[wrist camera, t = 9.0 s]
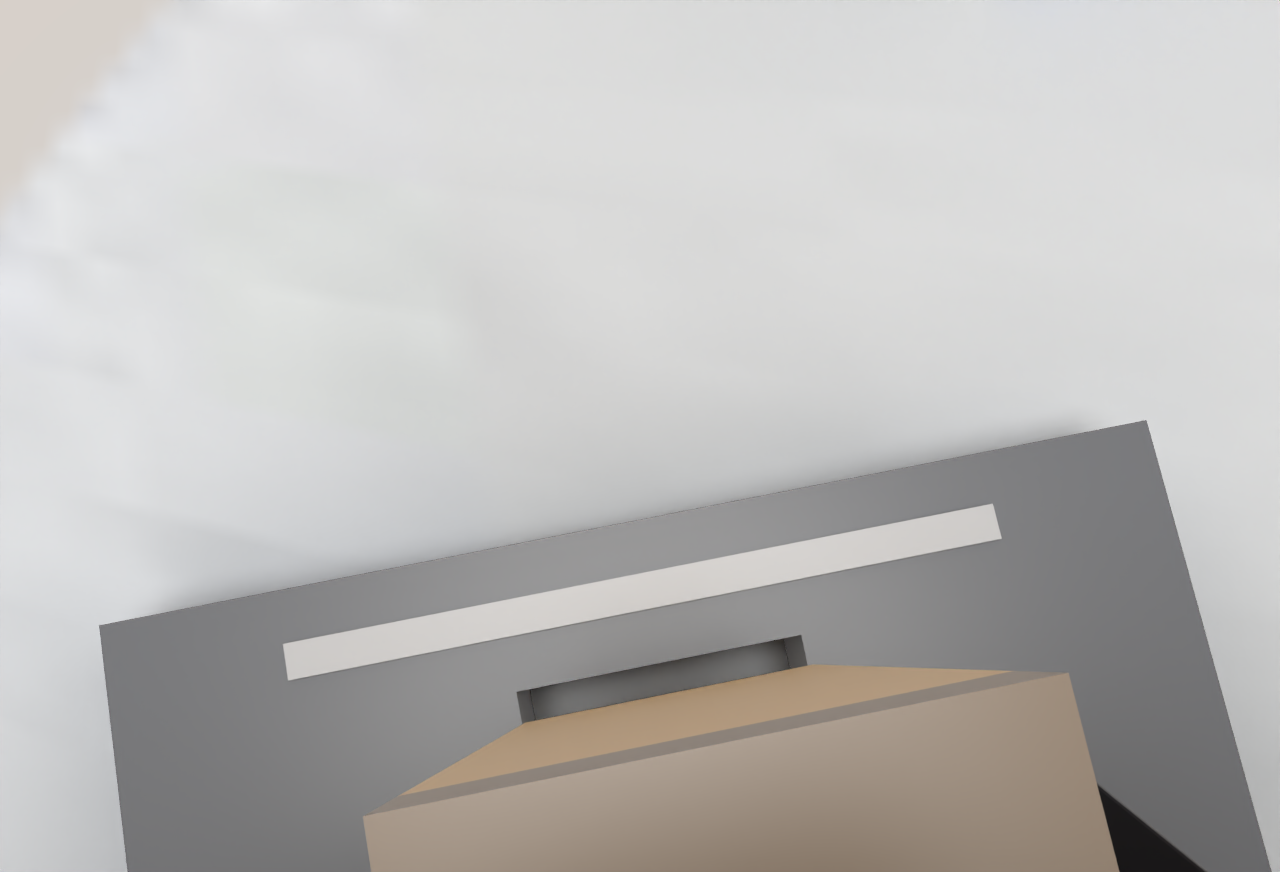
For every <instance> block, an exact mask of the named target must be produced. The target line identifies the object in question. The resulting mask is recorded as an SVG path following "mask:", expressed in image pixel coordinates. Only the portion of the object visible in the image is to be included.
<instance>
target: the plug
mask: <svg viewBox="0 0 1280 872" xmlns="http://www.w3.org/2000/svg"><path fill="white" fill-rule="evenodd" d="M363 820H364V827H365V834H366V840H367V847H368V854H369V860H370V867H371V872H1119V868H1118V864H1117V860H1116V856H1115V853H1114V849H1113V845H1112V841H1111V837H1110V833H1109V829H1108V825H1107V821H1106V817H1105V813H1104V810H1103V806H1102V802H1101V798H1100V794H1099V790H1098V786H1097V782H1096V778H1095V774H1094V770H1093V767H1092V763H1091V759H1090V755H1089V751H1088V747H1087V743H1086V739H1085V735H1084V731H1083V727H1082V724H1081V720H1080V716H1079V712H1078V708H1077V704H1076V700H1075V696H1074V692H1073V688H1072V684H1071V680H1070V677H1069V673H1063V672H1032V671H1000V670H969V669H938V668H907V667H876V666H844V665H808V666H803V667H798V668H793V669H788V670H783V671H778V672H773V673H768V674H763V675H759V676H754V677H749V678H744V679H739V680H734V681H729V682H724V683H719V684H714V685H709V686H704V687H699V688H694V689H689V690H684V691H679V692H674V693H669V694H664V695H659V696H654V697H649V698H644V699H640V700H635V701H630V702H625V703H620V704H615V705H610V706H605V707H600V708H595V709H590V710H585V711H580V712H575V713H570V714H565V715H560V716H555V717H550V718H545V719H540V720H535V721H530V722H526V723H524V724H522V725H520V726H519V727H517V728H515V729H513V730H512V731H510V732H508V733H507V734H505V735H503V736H501V737H500V738H498V739H496V740H494V741H493V742H491V743H489V744H487V745H486V746H484V747H482V748H481V749H479V750H477V751H475V752H474V753H472V754H470V755H468V756H467V757H465V758H463V759H461V760H460V761H458V762H456V763H455V764H453V765H451V766H449V767H448V768H446V769H444V770H442V771H441V772H439V773H437V774H435V775H434V776H432V777H430V778H429V779H427V780H425V781H423V782H422V783H420V784H418V785H416V786H415V787H413V788H411V789H409V790H408V791H406V792H404V793H403V794H401V795H399V796H397V797H396V798H394V799H392V800H390V801H389V802H387V803H385V804H383V805H382V806H380V807H378V808H377V809H375V810H373V811H371V812H370V813H368V814H366V815H364V816H363Z"/></svg>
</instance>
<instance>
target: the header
mask: <svg viewBox="0 0 1280 872" xmlns="http://www.w3.org/2000/svg"><path fill="white" fill-rule="evenodd" d="M99 628H100V636H101V645H102V654H103V662H104V671H105V679H106V688H107V697H108V705H109V714H110V723H111V731H112V740H113V749H114V757H115V766H116V774H117V783H118V792H119V800H120V809H121V818H122V826H123V835H124V844H125V852H126V861H127V869H128V872H371V867H370V860H369V854H368V847H367V840H366V834H365V827H364V820H363V816H364V815H366V814H368V813H370V812H371V811H373V810H375V809H377V808H378V807H380V806H382V805H383V804H385V803H387V802H389V801H390V800H392V799H394V798H396V797H397V796H399V795H401V794H403V793H404V792H406V791H408V790H409V789H411V788H413V787H415V786H416V785H418V784H420V783H422V782H423V781H425V780H427V779H429V778H430V777H432V776H434V775H435V774H437V773H439V772H441V771H442V770H444V769H446V768H448V767H449V766H451V765H453V764H455V763H456V762H458V761H460V760H461V759H463V758H465V757H467V756H468V755H470V754H472V753H474V752H475V751H477V750H479V749H481V748H482V747H484V746H486V745H487V744H489V743H491V742H493V741H494V740H496V739H498V738H500V737H501V736H503V735H505V734H507V733H508V732H510V731H512V730H513V729H515V728H517V727H519V726H520V725H522V724H524V723H526V722H530V721H535V716H534V711H533V705H532V700H531V694H530V689H533V688H538V687H543V686H548V685H553V684H558V683H563V682H568V681H573V680H578V679H583V678H588V677H593V676H598V675H603V674H608V673H613V672H618V671H623V670H628V669H633V668H638V667H643V666H648V665H653V664H658V663H663V662H668V661H673V660H678V659H683V658H688V657H693V656H698V655H703V654H708V653H713V652H718V651H723V650H728V649H733V648H738V647H743V646H748V645H753V644H757V643H762V642H767V641H772V640H777V639H782V638H783V639H784V643H785V648H786V652H787V657H788V662H789V666H790V669H793V668H798V667H803V666H808V665H844V666H876V667H907V668H938V669H969V670H1000V671H1032V672H1063V673H1069V677H1070V680H1071V684H1072V688H1073V692H1074V696H1075V700H1076V704H1077V708H1078V712H1079V716H1080V720H1081V724H1082V727H1083V731H1084V735H1085V739H1086V743H1087V747H1088V751H1089V755H1090V759H1091V763H1092V767H1093V770H1094V774H1095V778H1096V782H1097V783H1098V784H1100V785H1101V786H1102V787H1103V788H1105V789H1106V790H1107V791H1108V792H1110V793H1111V794H1112V795H1113V796H1115V797H1116V798H1117V799H1118V800H1120V801H1121V802H1122V803H1123V804H1125V805H1126V806H1127V807H1128V808H1130V809H1131V810H1132V811H1133V812H1135V813H1136V814H1137V815H1138V816H1140V817H1141V818H1142V819H1143V820H1145V821H1146V822H1147V823H1148V824H1150V825H1151V826H1152V827H1153V828H1155V829H1156V830H1157V831H1158V832H1160V833H1161V834H1162V835H1163V836H1165V837H1166V838H1167V839H1168V840H1170V841H1171V842H1172V843H1173V844H1175V845H1176V846H1177V847H1178V848H1180V849H1181V850H1182V851H1183V852H1185V853H1186V854H1187V855H1188V856H1190V857H1191V858H1192V859H1193V860H1195V861H1196V862H1197V863H1198V864H1200V865H1201V866H1202V867H1203V868H1205V869H1206V870H1207V871H1208V872H1271V868H1270V865H1269V861H1268V857H1267V854H1266V850H1265V847H1264V843H1263V839H1262V836H1261V832H1260V829H1259V825H1258V821H1257V818H1256V814H1255V811H1254V807H1253V803H1252V800H1251V796H1250V792H1249V789H1248V785H1247V782H1246V778H1245V774H1244V771H1243V767H1242V764H1241V760H1240V756H1239V753H1238V749H1237V746H1236V742H1235V738H1234V735H1233V731H1232V728H1231V724H1230V720H1229V717H1228V713H1227V709H1226V706H1225V702H1224V699H1223V695H1222V691H1221V688H1220V684H1219V681H1218V677H1217V673H1216V670H1215V666H1214V663H1213V659H1212V655H1211V652H1210V648H1209V645H1208V641H1207V637H1206V634H1205V630H1204V626H1203V623H1202V619H1201V616H1200V612H1199V608H1198V605H1197V601H1196V598H1195V594H1194V590H1193V587H1192V583H1191V580H1190V576H1189V572H1188V569H1187V565H1186V562H1185V558H1184V554H1183V551H1182V547H1181V543H1180V540H1179V536H1178V533H1177V529H1176V525H1175V522H1174V518H1173V515H1172V511H1171V507H1170V504H1169V500H1168V497H1167V493H1166V489H1165V486H1164V482H1163V479H1162V475H1161V471H1160V468H1159V464H1158V460H1157V457H1156V453H1155V450H1154V446H1153V442H1152V439H1151V435H1150V432H1149V428H1148V424H1147V421H1140V422H1135V423H1130V424H1125V425H1120V426H1115V427H1110V428H1105V429H1100V430H1094V431H1089V432H1084V433H1079V434H1074V435H1069V436H1064V437H1059V438H1054V439H1049V440H1043V441H1038V442H1033V443H1028V444H1023V445H1018V446H1013V447H1008V448H1003V449H998V450H992V451H987V452H982V453H977V454H972V455H967V456H962V457H957V458H952V459H946V460H941V461H936V462H931V463H926V464H921V465H916V466H911V467H906V468H901V469H895V470H890V471H885V472H880V473H875V474H870V475H865V476H860V477H855V478H850V479H844V480H839V481H834V482H829V483H824V484H819V485H814V486H809V487H804V488H799V489H793V490H788V491H783V492H778V493H773V494H768V495H763V496H758V497H753V498H747V499H742V500H737V501H732V502H727V503H722V504H717V505H712V506H707V507H702V508H696V509H691V510H686V511H681V512H676V513H671V514H666V515H661V516H656V517H651V518H645V519H640V520H635V521H630V522H625V523H620V524H615V525H610V526H605V527H599V528H594V529H589V530H584V531H579V532H574V533H569V534H564V535H559V536H554V537H548V538H543V539H538V540H533V541H528V542H523V543H518V544H513V545H508V546H503V547H497V548H492V549H487V550H482V551H477V552H472V553H467V554H462V555H457V556H452V557H446V558H441V559H436V560H431V561H426V562H421V563H416V564H411V565H406V566H400V567H395V568H390V569H385V570H380V571H375V572H370V573H365V574H360V575H355V576H349V577H344V578H339V579H334V580H329V581H324V582H319V583H314V584H309V585H304V586H298V587H293V588H288V589H283V590H278V591H273V592H268V593H263V594H258V595H252V596H247V597H242V598H237V599H232V600H227V601H222V602H217V603H212V604H207V605H201V606H196V607H191V608H186V609H181V610H176V611H171V612H166V613H161V614H156V615H150V616H145V617H140V618H135V619H130V620H125V621H120V622H115V623H110V624H105V625H99Z"/></svg>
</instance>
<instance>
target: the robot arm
mask: <svg viewBox="0 0 1280 872" xmlns="http://www.w3.org/2000/svg"><path fill="white" fill-rule="evenodd" d="M1097 786H1098V790H1099V794H1100V798H1101V802H1102V806H1103V810H1104V813H1105V817H1106V821H1107V825H1108V829H1109V833H1110V837H1111V841H1112V845H1113V849H1114V853H1115V856H1116V860H1117V864H1118V868H1119V872H1208V871H1207V870H1206V869H1205V868H1203V867H1202V866H1201V865H1200V864H1198V863H1197V862H1196V861H1195V860H1193V859H1192V858H1191V857H1190V856H1188V855H1187V854H1186V853H1185V852H1183V851H1182V850H1181V849H1180V848H1178V847H1177V846H1176V845H1175V844H1173V843H1172V842H1171V841H1170V840H1168V839H1167V838H1166V837H1165V836H1163V835H1162V834H1161V833H1160V832H1158V831H1157V830H1156V829H1155V828H1153V827H1152V826H1151V825H1150V824H1148V823H1147V822H1146V821H1145V820H1143V819H1142V818H1141V817H1140V816H1138V815H1137V814H1136V813H1135V812H1133V811H1132V810H1131V809H1130V808H1128V807H1127V806H1126V805H1125V804H1123V803H1122V802H1121V801H1120V800H1118V799H1117V798H1116V797H1115V796H1113V795H1112V794H1111V793H1110V792H1108V791H1107V790H1106V789H1105V788H1103V787H1102V786H1101V785H1100V784H1098V783H1097Z"/></svg>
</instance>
